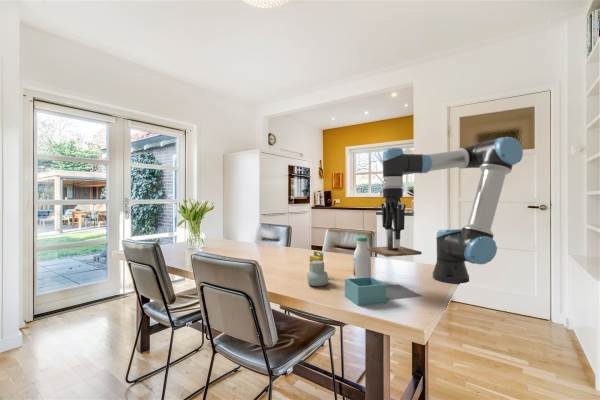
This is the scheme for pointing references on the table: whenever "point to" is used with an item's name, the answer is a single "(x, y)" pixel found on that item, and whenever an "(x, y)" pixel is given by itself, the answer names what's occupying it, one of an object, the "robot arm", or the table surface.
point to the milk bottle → (362, 259)
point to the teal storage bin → (365, 291)
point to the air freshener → (317, 274)
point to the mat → (399, 292)
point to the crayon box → (316, 257)
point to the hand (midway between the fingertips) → (393, 246)
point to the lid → (391, 251)
